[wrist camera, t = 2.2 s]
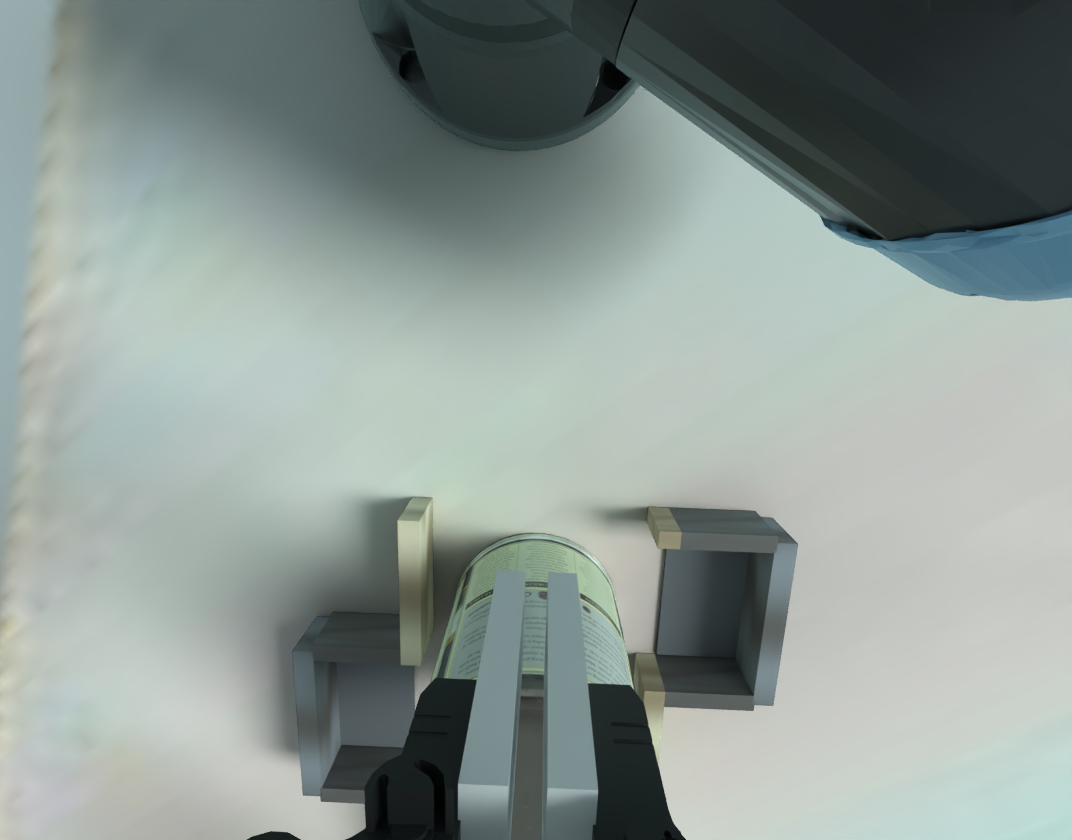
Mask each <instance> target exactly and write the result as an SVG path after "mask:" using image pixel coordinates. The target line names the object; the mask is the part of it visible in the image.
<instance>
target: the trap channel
mask: <svg viewBox="0 0 1072 840" xmlns="http://www.w3.org/2000/svg"><path fill="white" fill-rule="evenodd" d="M397 523H398V566H399V608H400V615H395V614H372V613H349V612H333V613H332V615H331V616H330V617H316V618H315V620H314V621H313V622H312V624H311V625H310V627H309V628H308V630H307V631H306V632H305V634H304V635H303V637H302V638H301V639H300V641H299V642H298V644H297V645H296V647H295V648H294V649H293V651H292V654H293V668H294V681H295V695H296V709H297V722H298V736H299V749H300V763H301V776H302V790H303V795H305V796H321V802H341V803H362V804H365V792H364V787H365V785H366V784H367V782H368V780H369V778H370V776H371V775H372V773H373V772H374V771H375V770H377V769H378V768H379V767H380V766H381V765H382V764H383V763H385V762H386V761H388V760H390V759H393V758H395V757H397V756H399V755H401V754H402V751H403V748H400V747H378V746H357V745H341V739H340V720H339V702H338V683H337V664H336V662H345V663H367V664H389V665H411V666H422V663H423V660H424V657H425V654H426V651H427V648H428V645H429V642H430V639H431V636H432V633H433V630H434V628H433V503H432V498H423V497H412V499H411V500H410V502H409V503H408V505H407V507H406V508H405V510H404V511H403V513H402V514H401V516H400V517H399V519H398V520H397ZM647 524H648V526H649V528H650V531H651V533H652V536H653V538H654V540H655V543H656V545H657V547H658V548H660V549H684V550H707V551H731V552H750V553H749V560H748V568H747V575H746V583H745V590H744V598H743V605H742V613H741V620H740V628H739V636H738V643H737V651H736V658H725V657H703V656H681V655H658V654H649V653H636V655H635V667H634V678H633V681H634V686H635V691H636V693H637V695H638V696H639V697H640V699H641V700H642V701H643V702H644V706H645V710H646V714H647V719H648V723H649V728H650V732H651V736H652V743H653V745H654V749H655V754H656V758H657V762H658V760H659V751H660V741H661V731H662V721H663V711H664V707H680V708H702V709H724V710H746V711H753V710H754V705H766V706H773V704H774V698H775V691H776V685H777V678H778V672H779V665H780V659H781V652H782V646H783V639H784V633H785V626H786V620H787V613H788V607H789V600H790V594H791V587H792V581H793V574H794V568H795V561H796V555H797V548H798V543H797V542H796V541H795V540H794V539H793V538H792V537H791V536H790V535H789V534H788V533H787V532H786V531H785V530H784V529H783V528H782V527H781V526H780V525H779V524H778V523H777V522H776V521H775V520H774V519H773V518H761V517H760V516H759V515H758V513H757V512H756V511H739V510H715V509H691V508H666V507H648V516H647Z"/></svg>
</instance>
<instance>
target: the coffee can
mask: <svg viewBox="0 0 1072 840" xmlns="http://www.w3.org/2000/svg"><path fill="white" fill-rule="evenodd" d="M497 570H509V571H526V580H525V610H524V639H523V665H522V680H521V694H520V708H519V723H518V737H517V751H516V766H515V780H514V794H513V809H512V823H511V837H510V840H542V803H543V722H544V656H545V633H546V611H547V588H548V572H555V573H577V579H578V590H579V600H580V610H581V620H582V630H583V640H584V651H585V661H586V671H587V681H588V683H598V684H620V685H630V686H631V687H632V688H633V689H634V691H635V686H634V681H633V678H632V673H631V669H630V665H629V660H628V656H627V651H626V647H625V642H624V638H623V632H622V628H621V623H620V619H619V615H618V610H617V605H616V596H615V592H614V588H613V585H612V582H611V580H610V577H609V575H608V574H607V572H606V571H605V569H604V568H603V566H602V565H601V564H600V562H599V561H598V560H597V559H596V558H595V557H594V556H593V555H592V554H590V553H589V552H588V551H587V550H585V549H584V548H582V547H581V546H579V545H577V544H575V543H574V542H572V541H570V540H568V539H565V538H561V537H557V536H553V535H548V534H534V533H532V534H522V535H516V536H512V537H509V538H506V539H502V540H500V541H498V542H496V543H495V544H493V545H491V546H489V547H487V548H486V549H484V550H483V551H482V552H480V553H479V554H478V555H477V556H476V557H475V558H474V559H473V560H472V561H471V562H470V564H469V565H468V566H467V568H466V569H465V571H464V572H463V574H462V576H461V578H460V580H459V584H458V587H457V591H456V596H455V602H454V605H453V609H452V612H451V615H450V619H449V622H448V625H447V629H446V632H445V636H444V639H443V643H442V646H441V650H440V653H439V656H438V660H437V663H436V666H435V669H434V672H433V675H432V679H431V682H432V681H433V680H434V679H435V678H451V679H473V680H477V677H478V672H479V666H480V661H481V655H482V650H483V644H484V639H485V634H486V628H487V623H488V617H489V612H490V606H491V601H492V595H493V590H494V584H495V579H496V574H497ZM635 692H636V691H635Z"/></svg>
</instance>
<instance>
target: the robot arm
mask: <svg viewBox="0 0 1072 840" xmlns="http://www.w3.org/2000/svg"><path fill="white" fill-rule="evenodd" d="M359 4H360V8H361V11H362V14H363V17H364V20H365V23H366V26H367V28H368V31H369V33H370V36H371V38H372V40H373V42H374V45H375V47H376V49H377V51H378V52H379V54H380V56H381V58H382V59H383V61H384V63H385V64H386V66H387V67H388V69H389V70H390V72H391V73H392V75H393V76H394V77H395V79H396V80H397V82H398V83H399V84H400V86H401V87H402V88H403V90H404V91H405V92H406V94H407V95H408V96H409V97H410V98H411V99H412V101H413V102H414V103H415V104H416V105H417V106H418V107H419V108H420V109H421V110H422V111H423V112H424V113H425V114H427V115H428V116H429V117H430V118H431V119H433V120H434V121H435V122H437V123H438V124H439V125H441V126H442V127H444V128H445V129H447V130H449V131H450V132H452V133H454V134H456V135H458V136H460V137H462V138H464V139H466V140H469V141H471V142H474V143H477V144H480V145H483V146H487V147H491V148H496V149H503V150H515V151H518V150H537V149H543V148H548V147H552V146H556V145H560V144H562V143H565V142H568V141H571V140H573V139H575V138H578V137H580V136H582V135H584V134H585V133H587V132H589V131H591V130H592V129H594V128H596V127H597V126H599V125H600V124H601V123H603V122H604V121H605V120H607V119H608V118H609V117H610V116H612V115H613V114H614V113H615V112H616V111H617V110H618V109H619V108H620V107H621V106H622V105H623V104H624V103H625V102H626V101H627V100H628V99H629V98H630V97H631V95H632V94H633V93H634V92H635V90H636V89H637V88H638V86H639V85H641V86H642V87H644V88H645V89H647V90H648V91H649V92H651V93H652V94H653V95H655V96H656V97H658V98H659V99H660V100H662V101H663V102H664V103H666V104H667V105H669V106H670V107H671V108H673V109H674V110H676V111H677V112H678V113H680V114H681V115H682V116H684V117H685V118H687V119H688V120H689V121H691V122H692V123H694V124H695V125H696V126H698V127H699V128H700V129H702V130H703V131H705V132H706V133H707V134H709V135H710V136H712V137H713V138H714V139H716V140H717V141H718V142H720V143H721V144H723V145H724V146H725V147H727V148H728V149H730V150H731V151H732V152H734V153H735V154H736V155H738V156H739V157H741V158H742V159H743V160H745V161H746V162H747V163H749V164H750V165H752V166H753V167H754V168H756V169H757V170H759V171H760V172H761V173H763V174H764V175H765V176H767V177H768V178H770V179H771V180H772V181H774V182H775V183H777V184H778V185H779V186H781V187H782V188H783V189H785V190H786V191H788V192H789V193H790V194H792V195H793V196H795V197H796V198H797V199H799V200H800V201H801V202H803V203H804V204H806V205H807V206H808V207H810V208H811V209H812V210H814V211H815V212H817V213H818V214H819V215H820V217H821V219H822V221H823V223H824V225H825V226H826V227H827V228H828V229H830V230H831V231H832V232H834V233H835V234H836V235H838V236H839V237H841V238H843V239H845V240H847V241H849V242H852V243H854V244H856V245H861V246H865V247H869V248H874V249H875V250H877V251H878V252H880V253H881V254H883V255H885V256H886V257H888V258H889V259H891V260H893V261H894V262H896V263H897V264H899V265H901V266H902V267H904V268H905V269H907V270H909V271H910V272H912V273H913V274H915V275H917V276H918V277H920V278H921V279H923V280H925V281H926V282H928V283H930V284H932V285H934V286H936V287H938V288H941V289H944V290H947V291H950V292H953V293H957V294H960V295H965V296H986V297H993V298H998V299H1002V300H1018V301H1041V300H1051V299H1061V298H1072V0H359ZM525 580H526V571H509V570H497V574H496V579H495V584H494V590H493V595H492V601H491V606H490V612H489V617H488V623H487V628H486V634H485V639H484V644H483V650H482V655H481V661H480V666H479V672H478V677H477V680H473V679H451V678H435V679H434V680H433V681H432V682H431V683H430V684H429V686H428V687H427V688H426V689H425V690H424V691H423V692H422V693H421V694H420V697H419V700H418V704H417V707H416V710H415V713H414V718H413V719H412V723H411V726H410V729H409V734H408V735H407V738H406V742H405V745H404V748H403V751H402V754H401V755H399V756H397V757H395V758H393V759H390V760H388V761H386V762H385V763H383V764H382V765H381V766H380V767H379V768H378V769H377V770H375V771H374V772H373V773H372V775H371V776H370V778H369V780H368V782H367V784H366V785H365V787H364V792H365V816H366V828H365V829H364V830H363V831H361V832H359V833H358V834H356V835H354V836H353V837H351V838H349V839H346V840H510V837H511V823H512V809H513V794H514V780H515V766H516V751H517V737H518V723H519V708H520V694H521V680H522V665H523V639H524V610H525ZM247 840H300V839H299V838H297V837H295V836H293V835H291V834H290V833H288V832H272V831H271V832H267V833H264V834H260V835H256V836H253V837H251V838H249V839H247ZM542 840H686V839H685V838H684V837H683V836H682V835H681V832H680V831H679V830H678V828H677V827H676V826H675V825H674V823H673V821H672V819H671V816H670V813H669V810H668V806H667V802H666V797H665V793H664V789H663V784H662V780H661V776H660V771H659V767H658V762H657V758H656V754H655V749H654V745H653V743H652V736H651V732H650V728H649V723H648V719H647V714H646V710H645V706H644V702H643V701H642V700H641V699H640V697H639V696H638V695H637V693H636V692H635V691H634V689H633V688H632V687H631V686H630V685H620V684H598V683H588V681H587V671H586V661H585V651H584V640H583V630H582V620H581V610H580V600H579V590H578V579H577V573H555V572H548V588H547V611H546V633H545V656H544V722H543V803H542Z"/></svg>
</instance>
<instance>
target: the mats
mask: <svg viewBox="0 0 1072 840" xmlns="http://www.w3.org/2000/svg"><path fill="white" fill-rule="evenodd" d="M749 553H750V552H731V551H707V550H684V549H666V555H665V565H664V575H663V586H662V596H661V607H660V617H659V628H658V638H657V649H656V654H658V655H681V656H703V657H725V658H736V651H737V643H738V636H739V628H740V620H741V613H742V605H743V598H744V590H745V583H746V575H747V568H748V560H749ZM336 664H337V683H338V702H339V720H340V739H341V745H357V746H378V747H400V748H404V745H405V742H406V738H407V735H408V734H409V729H410V726H411V723H412V719H413V718H414V713H415V699H414V666H411V665H389V664H367V663H345V662H336Z"/></svg>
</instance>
